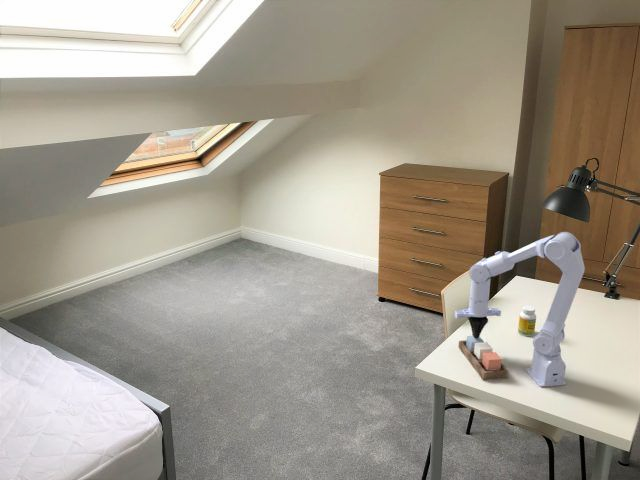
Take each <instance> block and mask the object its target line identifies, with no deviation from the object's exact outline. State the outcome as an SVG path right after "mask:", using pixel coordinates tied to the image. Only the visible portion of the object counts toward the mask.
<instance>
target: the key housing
mask: <svg viewBox="0 0 640 480" xmlns="http://www.w3.org/2000/svg"><path fill="white" fill-rule="evenodd" d="M466 341H467V339H465V340H458V349H459V350H460V352H461V353H462V354H463V355H464V357H465V359H466V360H467V361H468V362H469V364H470V365H471V366H472V368H473V369H474V370H475V371H476V373H477V374H478V376H479V377H480V378H481V380H482V381H489V380H490V381H493V380H504V379H508V378H509V373H510V370H509V369H508V368H507V367H506V366H505V364H503V362H502V361H501V369H499V370H485V369H486V368H485V366H484V365H483V364H482V360H483V359H480V360H479V359H478V357H477V356H476V355H475V354H474V350H469V349H468V348H467V346H466ZM477 359H478V360H477Z"/></svg>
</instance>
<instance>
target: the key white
mask: <svg viewBox="0 0 640 480" xmlns="http://www.w3.org/2000/svg"><path fill="white" fill-rule="evenodd" d="M492 352H493V347H492V346H491V344H489V343H488V341H486V342H485V341H484V342H483V343H475V347H474V354H475V355H476V356H477V357H478V358H477V359H478V360H483V353H492Z"/></svg>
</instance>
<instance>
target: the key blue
mask: <svg viewBox="0 0 640 480" xmlns="http://www.w3.org/2000/svg"><path fill="white" fill-rule="evenodd" d="M480 336H481V335H480ZM480 336H479V338H474V337H473V336H472V335H469V336H466V340H467V341H466V346H467V349H468V350H474V347H475V343H483V342H485V341H484V340H483V339H482V337H480Z"/></svg>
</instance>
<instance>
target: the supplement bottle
mask: <svg viewBox="0 0 640 480" xmlns="http://www.w3.org/2000/svg"><path fill="white" fill-rule="evenodd" d="M536 322H537V315H536V308H535V307H534V306H531V305H524V306H522V311H521V312H520V314H519V318H518V326H517V327H518V328H517V333H518V334H519V335H521V336H523V337H532V336H534V335H535V329H536Z"/></svg>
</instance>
